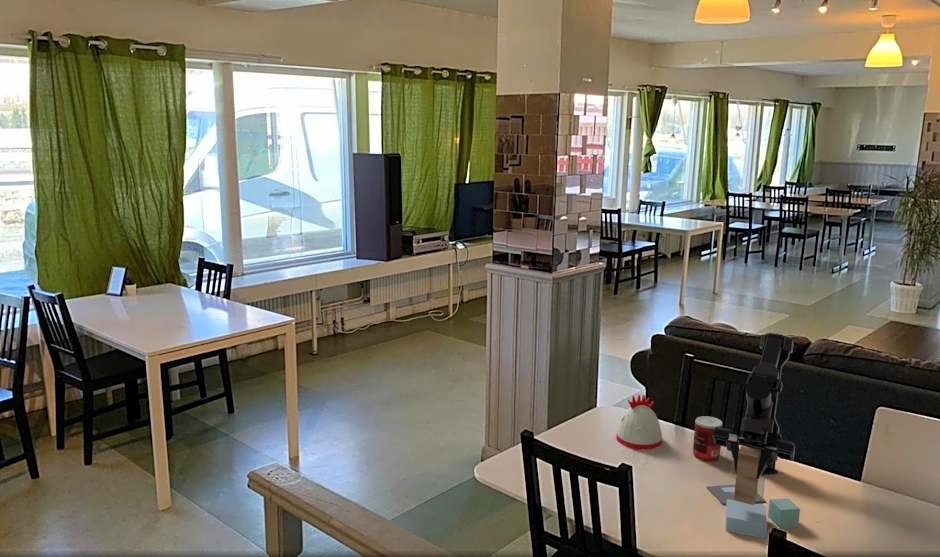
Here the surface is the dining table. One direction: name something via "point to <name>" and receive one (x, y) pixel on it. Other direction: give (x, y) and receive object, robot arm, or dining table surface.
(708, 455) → the canned food
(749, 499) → the walnut pillar
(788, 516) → the teal cube
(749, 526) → the blue base block
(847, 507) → the dining table surface
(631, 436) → the kitchen timer
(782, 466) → the dining table surface
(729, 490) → the card
